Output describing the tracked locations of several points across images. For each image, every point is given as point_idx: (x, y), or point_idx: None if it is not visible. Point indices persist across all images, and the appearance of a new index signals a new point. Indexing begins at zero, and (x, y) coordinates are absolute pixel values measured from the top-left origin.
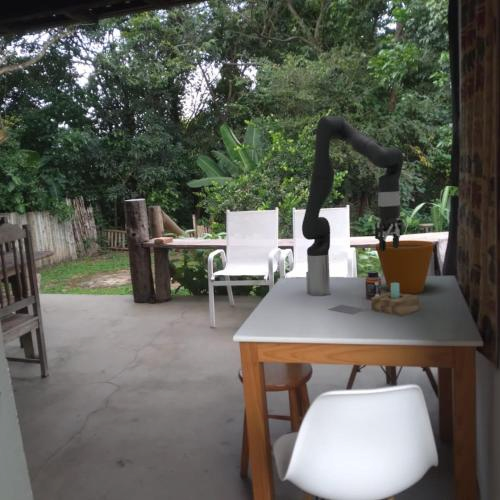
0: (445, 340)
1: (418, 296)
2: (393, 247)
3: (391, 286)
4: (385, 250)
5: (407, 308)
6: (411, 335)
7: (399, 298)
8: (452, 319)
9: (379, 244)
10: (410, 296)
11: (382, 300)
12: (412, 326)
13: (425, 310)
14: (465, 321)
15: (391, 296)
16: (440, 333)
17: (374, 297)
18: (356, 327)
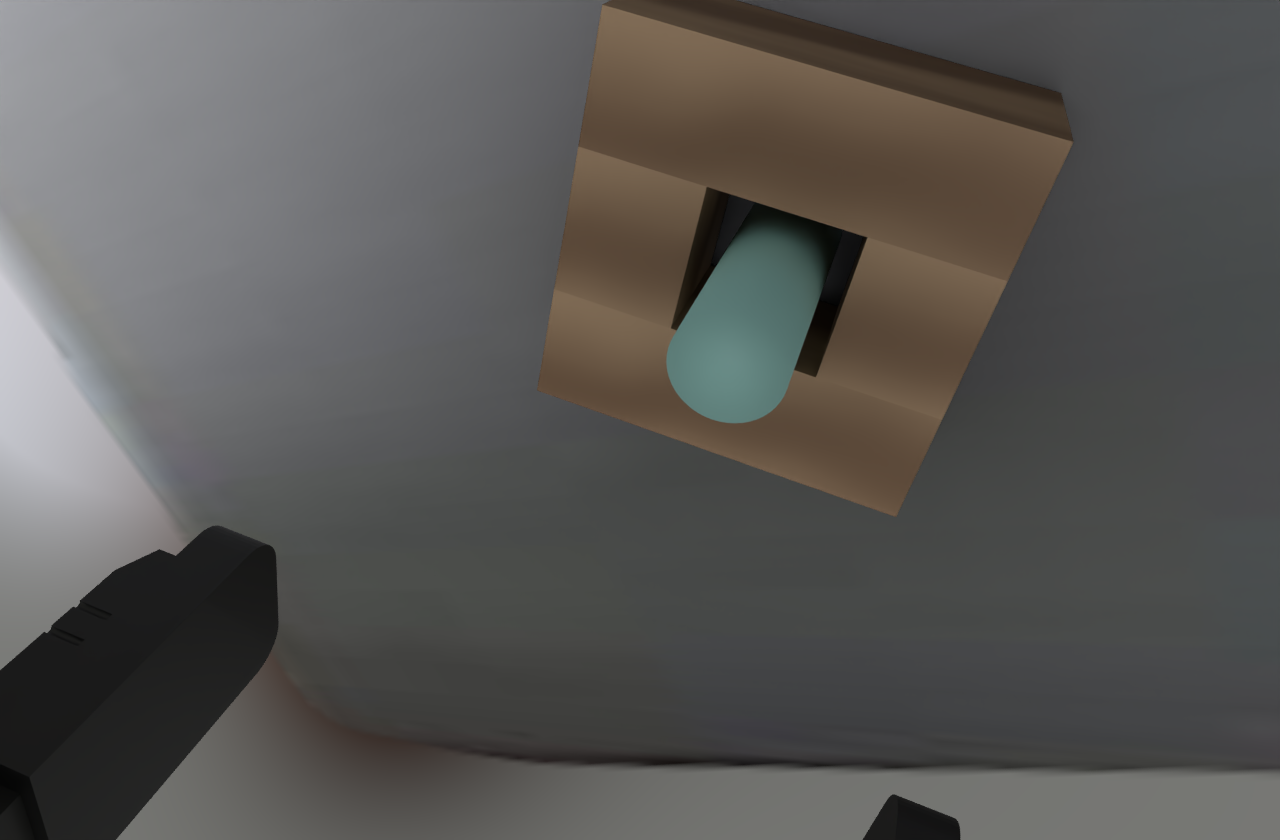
0: None
1: (890, 510)
2: (891, 799)
3: (687, 315)
4: (258, 648)
5: None
6: (213, 458)
7: None
8: (668, 658)
9: (23, 653)
10: (839, 442)
11: (578, 174)
12: (379, 442)
13: None
14: (652, 719)
15: (725, 255)
16: (341, 594)
17: (646, 37)
18: (115, 52)
